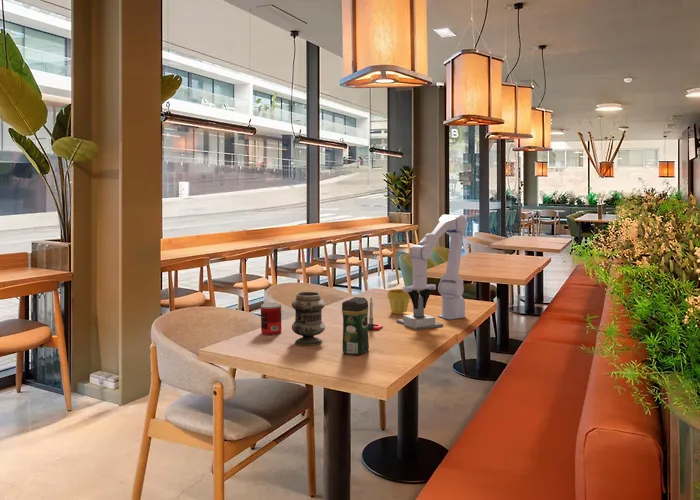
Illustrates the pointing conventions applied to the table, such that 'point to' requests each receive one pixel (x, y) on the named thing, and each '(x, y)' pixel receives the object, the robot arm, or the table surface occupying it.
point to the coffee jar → (355, 326)
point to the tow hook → (370, 324)
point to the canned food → (271, 319)
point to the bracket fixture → (418, 321)
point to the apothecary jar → (308, 317)
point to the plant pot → (398, 300)
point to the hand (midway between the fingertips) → (419, 308)
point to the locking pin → (419, 308)
